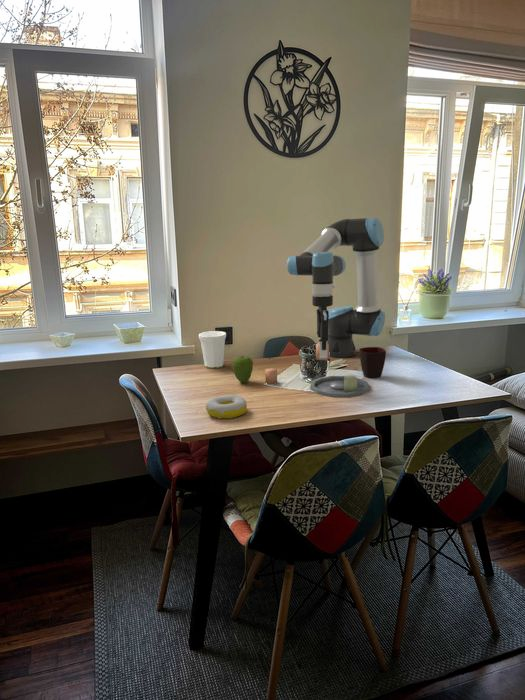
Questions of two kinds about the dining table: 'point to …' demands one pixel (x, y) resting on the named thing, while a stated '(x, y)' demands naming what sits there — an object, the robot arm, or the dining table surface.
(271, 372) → the terracotta bead
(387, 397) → the dining table surface
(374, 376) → the mug
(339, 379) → the groove tray
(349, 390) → the olive bead
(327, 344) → the terracotta bead
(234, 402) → the donut
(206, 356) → the cup
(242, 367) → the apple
